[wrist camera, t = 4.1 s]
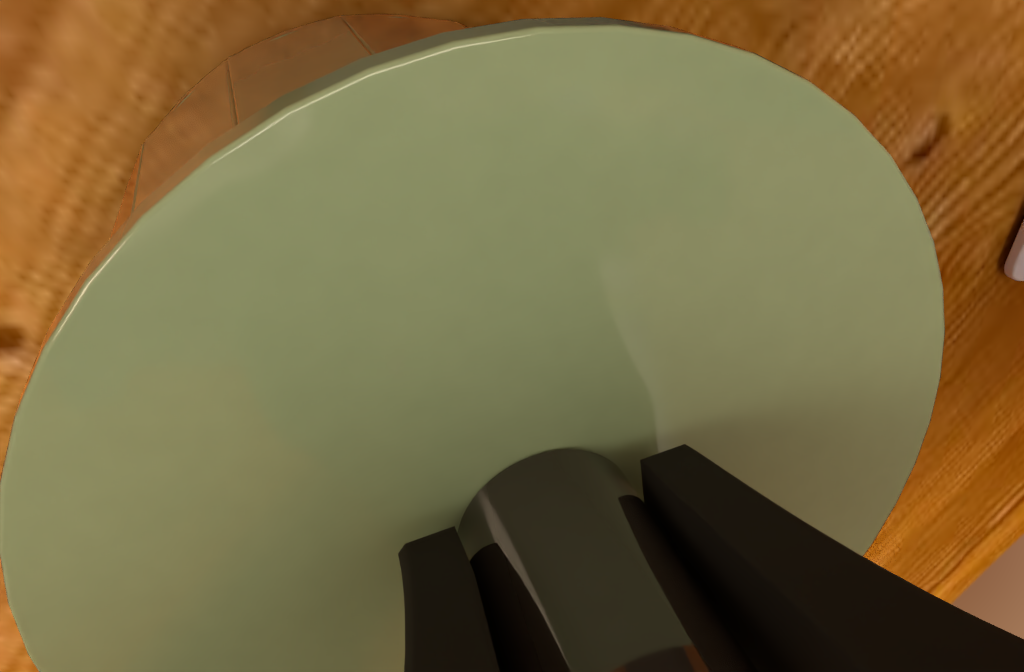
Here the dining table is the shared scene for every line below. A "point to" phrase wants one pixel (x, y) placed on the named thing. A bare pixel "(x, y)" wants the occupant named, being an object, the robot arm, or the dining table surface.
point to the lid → (470, 358)
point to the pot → (263, 87)
